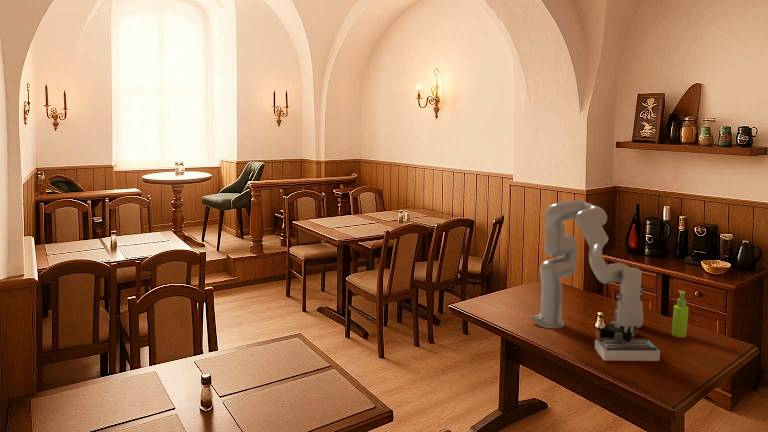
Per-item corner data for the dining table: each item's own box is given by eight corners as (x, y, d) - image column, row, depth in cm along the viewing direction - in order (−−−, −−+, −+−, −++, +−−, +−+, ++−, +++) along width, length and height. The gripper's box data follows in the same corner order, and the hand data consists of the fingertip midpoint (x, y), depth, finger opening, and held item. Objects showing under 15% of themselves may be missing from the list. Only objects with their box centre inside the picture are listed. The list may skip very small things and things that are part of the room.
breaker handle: (616, 346, 237) (616, 334, 236) (614, 343, 240) (614, 332, 239) (622, 346, 237) (622, 334, 236) (620, 343, 239) (620, 332, 239)
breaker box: (603, 360, 234) (604, 348, 233) (594, 348, 245) (595, 336, 244) (659, 360, 233) (660, 348, 232) (647, 348, 244) (648, 337, 243)
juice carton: (617, 328, 268) (617, 315, 267) (638, 333, 261) (639, 321, 260) (598, 341, 254) (599, 328, 252) (620, 347, 247) (621, 334, 246)
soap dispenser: (684, 332, 261) (688, 290, 258) (687, 338, 255) (691, 294, 251) (670, 330, 263) (673, 288, 260) (672, 336, 257) (676, 293, 253)
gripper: (614, 301, 231) (611, 344, 235) (652, 301, 231) (649, 344, 234) (607, 295, 239) (605, 337, 242) (644, 295, 238) (641, 337, 241)
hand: (626, 340), depth 238 cm, fingers closed
